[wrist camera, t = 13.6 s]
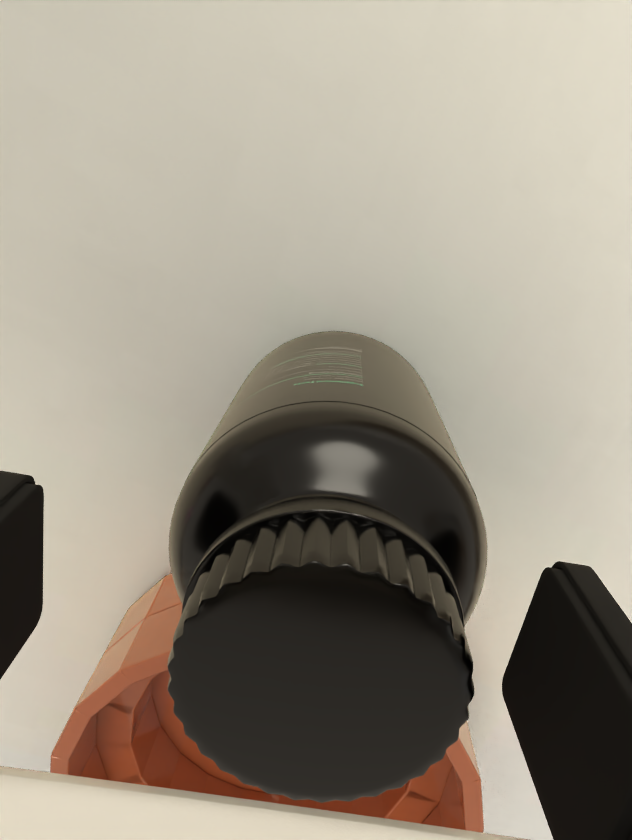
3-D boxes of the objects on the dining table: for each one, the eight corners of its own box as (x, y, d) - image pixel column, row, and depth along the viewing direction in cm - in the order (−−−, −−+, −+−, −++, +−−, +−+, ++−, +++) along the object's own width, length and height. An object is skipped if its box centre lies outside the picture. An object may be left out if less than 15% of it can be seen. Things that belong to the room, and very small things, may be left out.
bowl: (122, 510, 22) (53, 603, 17) (494, 577, 22) (540, 689, 17) (103, 781, 27) (45, 918, 22) (409, 834, 27) (424, 982, 22)
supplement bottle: (438, 503, 21) (544, 841, 10) (253, 520, 22) (151, 856, 10) (426, 315, 19) (547, 473, 8) (220, 339, 19) (45, 518, 8)
